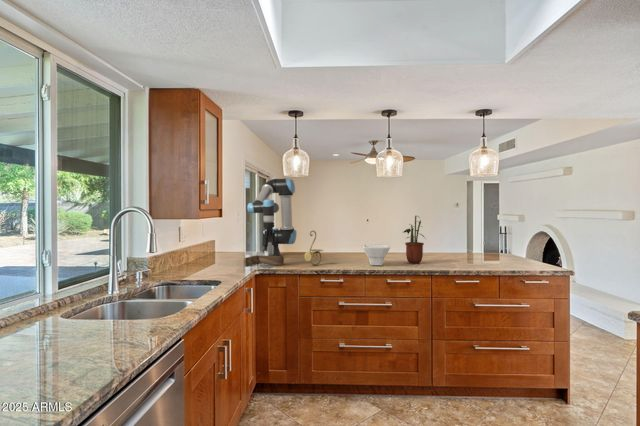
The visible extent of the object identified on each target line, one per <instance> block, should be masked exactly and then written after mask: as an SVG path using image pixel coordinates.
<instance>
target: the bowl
mask: <svg viewBox="0 0 640 426" xmlns="http://www.w3.org/2000/svg"><path fill="white" fill-rule="evenodd" d="M362 248H363V251H364V253H365V254H366V256H367V258H368V261H369V264H370V265H371V266H383V264H384V261H385V258H386V257H387V255H388V254H389V253H388V252H389V251H390V249H391V246H390V245H389V244H363V245H362Z"/></svg>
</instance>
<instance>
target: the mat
mask: <svg viewBox="0 0 640 426" xmlns="http://www.w3.org/2000/svg"><path fill="white" fill-rule="evenodd" d="M259 265H260V267H262V269H263V268H264V269H271V268H274V266H275V264H259ZM260 267H259V268H260Z"/></svg>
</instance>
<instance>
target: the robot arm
mask: <svg viewBox="0 0 640 426" xmlns="http://www.w3.org/2000/svg"><path fill="white" fill-rule="evenodd" d="M295 192H296V186H295V181H294V180H293V179H292V178H272V179H269V180H268V181H266V182H265V183H264V184H263V185H262V187H261V191H260V192H259V193H258V195H257V196H256V198H255V199H254V201H253V202H249V203H247V206H246V207H247V211H248V213H249V214H262V215H263V220H262V221H263V223H262V224H263V226H262V227H263V228H264V230H262V246H263V251H262V252H264V253H265V256H269V252H268V242H272V255H270V256H282V255H281V251H280V247H279V245H294V244H295V243H296V240H297V230H296V229H295V227H294V226H293V212H292V211H293V210H292V197H293V195H294V193H295ZM272 194H278V197H280V205H279V204H278V203H277V202H275V200H274V199H269V197H270V196H271V195H272ZM279 210H280V214H281V216H280V217H281V227H280V228H279V227H276V228H275V214H276V213H278V212H279Z"/></svg>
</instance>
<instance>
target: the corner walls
mask: <svg viewBox="0 0 640 426" xmlns="http://www.w3.org/2000/svg"><path fill="white" fill-rule="evenodd" d="M256 263H258V264H262V263H265V264H264V265H277V264H278V266H283V265H285V257H284V256H282V255H281V256H258V255H257V254H255V255H250V256H248V257H247V256H246V257H244V258H243V267H244V266H246V267H249V266H248V265H250V266H253V265H252V264H254V265H257V264H256Z"/></svg>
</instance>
